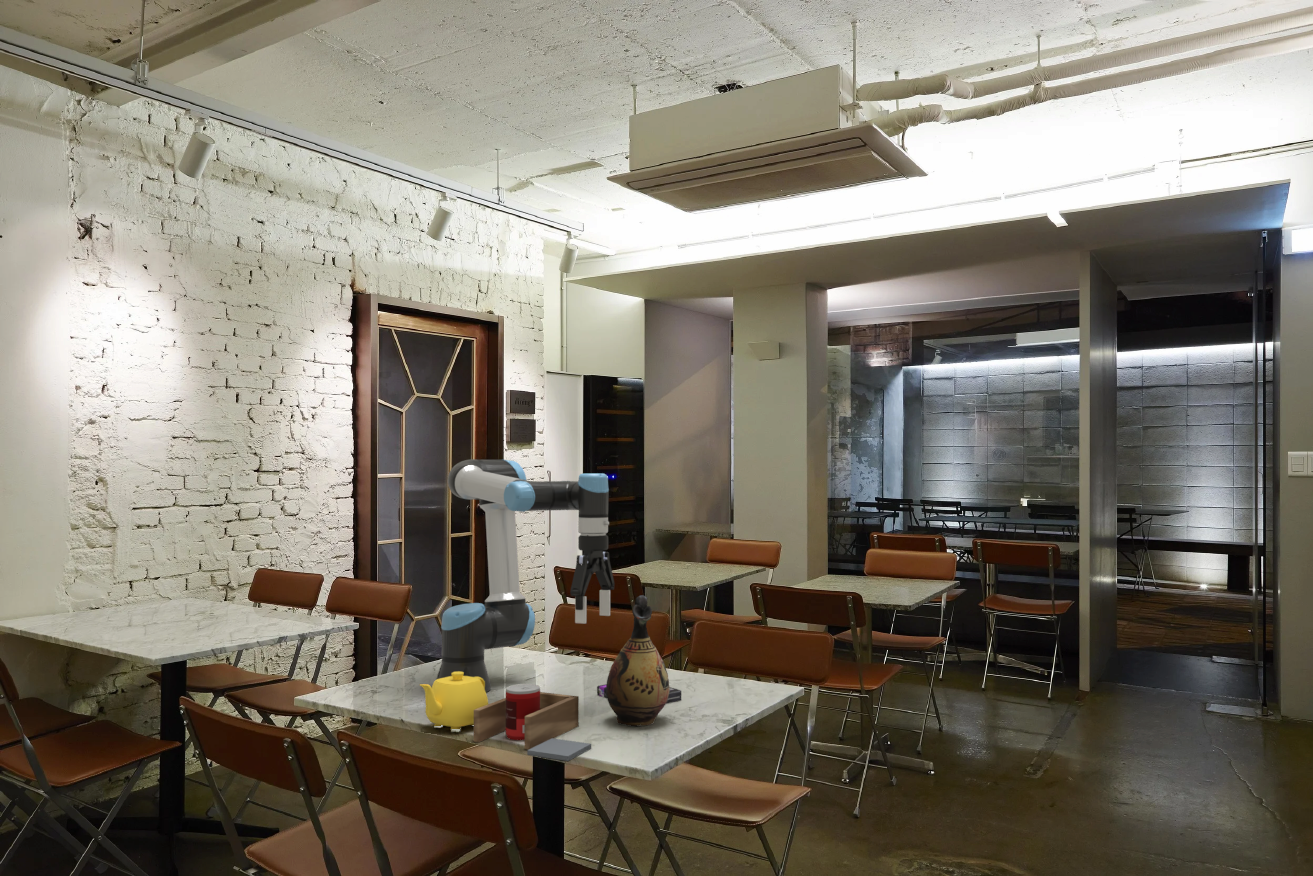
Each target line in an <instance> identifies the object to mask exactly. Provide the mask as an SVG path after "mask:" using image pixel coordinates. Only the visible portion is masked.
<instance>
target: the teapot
mask: <svg viewBox="0 0 1313 876" xmlns="http://www.w3.org/2000/svg"><path fill="white" fill-rule="evenodd" d="M451 674H452V676H449V677H445V678H440V679H437V678H436V679H437V680H434V681H433V683H432V685H430V684H428V683H427V684H423V683H422V684H419V686H420V687H422V688H423V691H424V696H425V697H424V698H425V710H424V711H425V715H426V717H427V719H428V721H429V722H431V723H432V724H434V725H433V726H441V725H443V726H444V727H450V730H451V729H460V728H461V729H462V727H465V726H470V725H474V710H475V709H477V708H480V707H483V706H485V705H488V704H489V699H488V695H487V692H485V681H484V680H483V679H482V678H481V677H470V676H463V675H464V672H459V671H458V672H453V673H451Z"/></svg>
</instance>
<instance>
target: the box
mask: <svg viewBox="0 0 1313 876" xmlns="http://www.w3.org/2000/svg"><path fill="white" fill-rule="evenodd" d="M669 687H670V688H669V695H668V699H667V703H666V704H665V705H667V704H671V703H676V702H681V701H682V689H678V688H674V687H671V686H669ZM596 693H597V694H596V695H597V696H599V697H601V698H604V699H607V696H606V684H600V685H597V686H596Z"/></svg>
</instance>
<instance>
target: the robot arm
mask: <svg viewBox="0 0 1313 876" xmlns="http://www.w3.org/2000/svg"><path fill="white" fill-rule="evenodd" d="M447 486H448V488H449V490H450V493H452V494H453V495H454V496H456V497H458V498H460V499H464V500H470V501H471V500H473V501H474V500H475V501H477V500H479V508H480V509H482V510H483V511H484V512H485V529H486V530H485V531H486V546H487V547H486V549H487V567H488V568H487V569H488V586H489V596H488V597H487V598H486V599H485V600H484V604H483V603H481V602H480V603H479V602H471V603H461V604H458V605H454V606H451V607H448V608H447V609H446V610H444V612H443V613H442V618H441V626H440V628H441V664H440V667H439V671H438V673H437V677H436V680H437V679H440V678H445V677H449V676H452V674H451V673H453V672H458V671H459V672H464V675H463V676H470V677H481V678H482V679H483V680H484V681H485V692H486V693H487V692H489V691H490V690H491V679H490V676H489V673H488V670H487V667H486V662H485V651H486V650H492V649H493V650H494V649H500V648H507V647H512V648H513V647H516V646H519V645H524V644H526V643H527V642H528V641H529V640H530V639H531V637H532V636H533V633H534V630H535V626H536V625H535V624H536V615H535V611H534V610H533V607H532V606H531V605H530V604H529V603H526V596H524V595H523V593H521V592H520V574H519V573H520V572H519V558H518V557H519V556H518V542H517V522H516V512H523V513H525V512H535V511H537V512H538V511H540V512H541V511H544V512H545V511H578V521H577V522H578V524H577V525H578V527H577V528H578V529H577V530H578V533H579V534H580V535H578V537H577V539H578V543H577V544H578V545H577V546H578V550H579V551H583V555H581V554H580V555H576V564H575V570H574V573H573V577H572V582H571V586H570V592H569V593H570V597H574V598H575V599H574V600H575V601H574V608H575V609H574V610H575V611H574V612H575V613H574V623H575V624H582V625H583V624H587V620H588V619H587V616H588V615H587V611H588V610H587V605H588V603H587V596H585V595H586V591H587V590H588V586H589V583H590V581H591V579H592V576H593V575H594V574H595V577H596V578H597V581H598V584H599V585H600V590H599V616H605V617H610V616H611V590H615V585H616V584H615V579H614V575H613V571H612V566H611V561H610V552H608V551H607V550H608V549H609V536H608V535H607V533H608V532H609V526H610V521H609V491H610V489H609V477H608V475H607V474H605V473H580V474H579V475H578V481H577V480H575V481H574V480H561V481H560V480H559V481H557V480H551V481H549V480H548V481H547V480H546V481H538V480H536V481H535V480H527V476H526V473H525V470H524V469H523V467H522V466H521V465H520V463H518V462H517V461H515V460H508V459H504V458H503V459H476V458H475V459H474V458H473V459H466V460H462V461H459V462H458V463H456V464H455V465H454V466H453V467H452V468H451V469H450V471H449V473H448V475H447Z"/></svg>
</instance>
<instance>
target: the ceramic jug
mask: <svg viewBox="0 0 1313 876" xmlns="http://www.w3.org/2000/svg"><path fill="white" fill-rule="evenodd" d="M652 613H653V609H652V607H651V606H650V605H648V596H645V595H643V594H642V595H639V596H637V597H636V598H635V601H634V605H633V607H632V616H633V628H632V632H631V636H630V637H629V639H627V641H626V643H625V644H624V645H623V647H622V648H621V649H620V651H619V653H618V654H617V656H616V658H615V659H614V660H613V663H612V665H611V667H610V668H609V671H608V676H607V678H606V679H607V680H606V683H605V685H606V696H607V698H606V700H607V702H608V704H609V707H610V708H611V710H612V711H613V713H614V714H615V715H616V722H617V724H618V725H623V726H626V727H635V728H636V727H640V726H641V727H642V726H644V727H645V726H650V725H653V724H654V723H655V721H656V719H657V717H658V715H659V714H660V712H661V711H662V710H663V708H664V707H665V706H666V705H667V704H668V703H667V699H668V695H669V688H670V687H671V686H670V681H669V675H668V671H667V668H666V665H665V661H664V660H663V658H662V657H661V655H660V653H659V651H658V650H657V647H656V646H655V645H654V644H653V642H652V640H651V637H650V635H649V634H648V627H647V623H648V621H650V620H651V618H652ZM666 703H667V704H666Z"/></svg>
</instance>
